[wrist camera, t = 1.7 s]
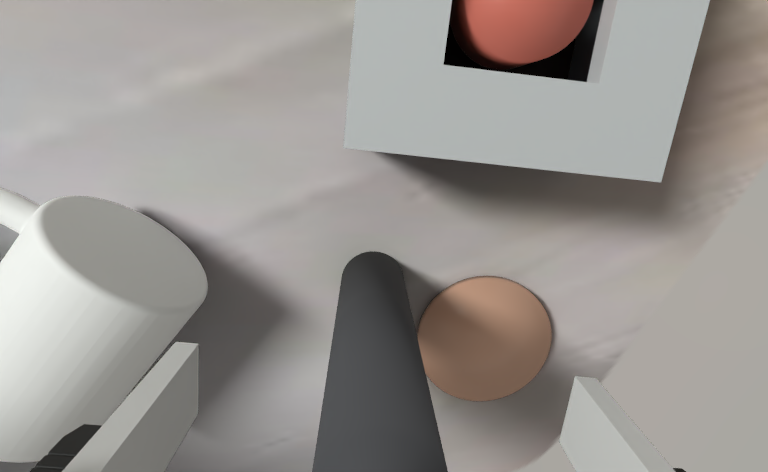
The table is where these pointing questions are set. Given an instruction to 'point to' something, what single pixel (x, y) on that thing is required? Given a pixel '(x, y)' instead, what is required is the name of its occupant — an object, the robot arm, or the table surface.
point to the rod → (376, 379)
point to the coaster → (484, 338)
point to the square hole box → (525, 91)
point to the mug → (83, 313)
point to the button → (516, 29)
